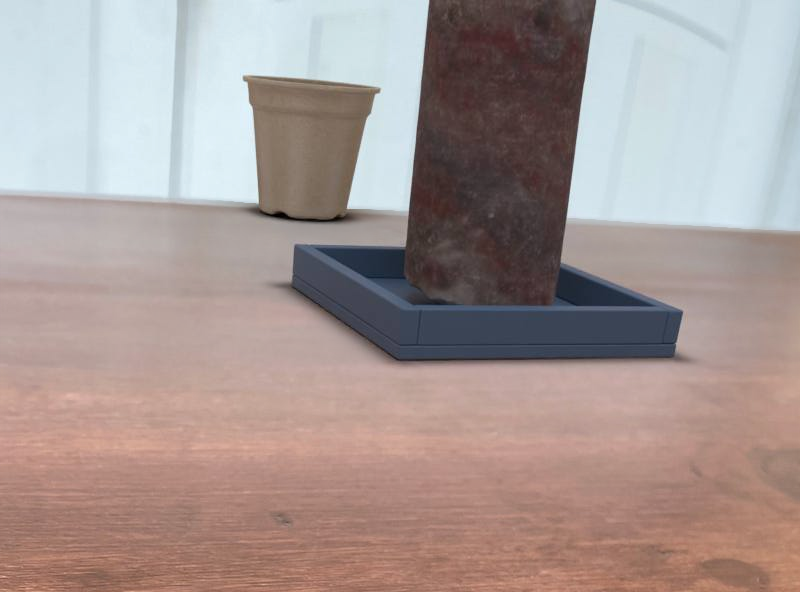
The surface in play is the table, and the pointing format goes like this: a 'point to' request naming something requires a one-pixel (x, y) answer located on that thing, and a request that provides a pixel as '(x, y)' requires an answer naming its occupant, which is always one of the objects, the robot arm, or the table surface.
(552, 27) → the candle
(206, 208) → the table surface
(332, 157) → the flower pot
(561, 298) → the candle dish
